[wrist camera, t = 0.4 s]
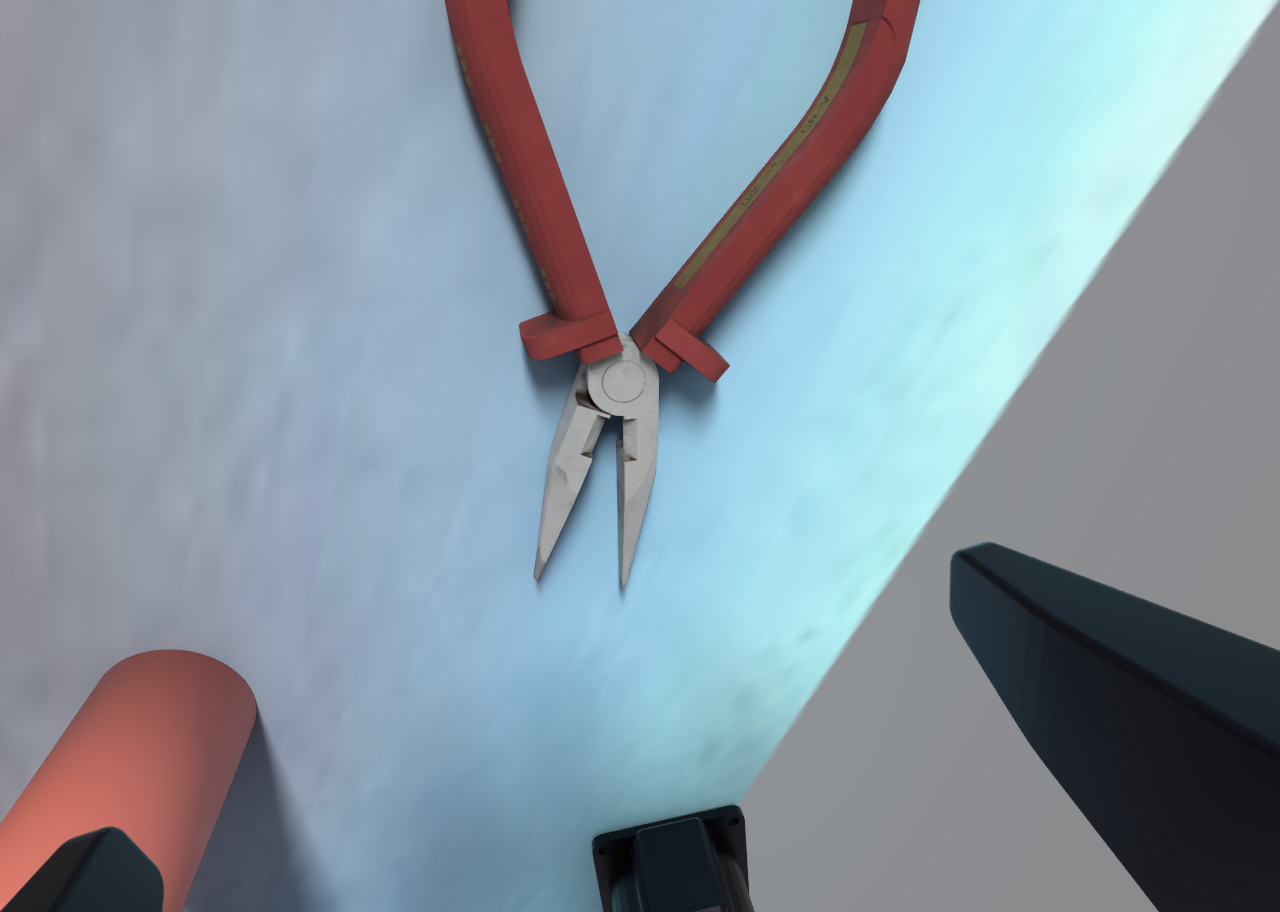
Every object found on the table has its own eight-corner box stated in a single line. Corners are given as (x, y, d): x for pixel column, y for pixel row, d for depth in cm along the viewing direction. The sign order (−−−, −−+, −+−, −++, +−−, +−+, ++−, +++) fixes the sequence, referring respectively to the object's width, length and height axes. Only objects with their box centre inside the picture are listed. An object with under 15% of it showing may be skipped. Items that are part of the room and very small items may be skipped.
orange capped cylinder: (294, 755, 27) (155, 1201, 16) (118, 790, 27) (-153, 1282, 16) (239, 621, 25) (30, 1043, 14) (44, 657, 24) (-348, 1132, 13)
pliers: (398, 549, 25) (388, 596, 23) (459, -246, 17) (454, -306, 15) (736, 572, 28) (759, 616, 26) (921, -102, 20) (981, -132, 18)
